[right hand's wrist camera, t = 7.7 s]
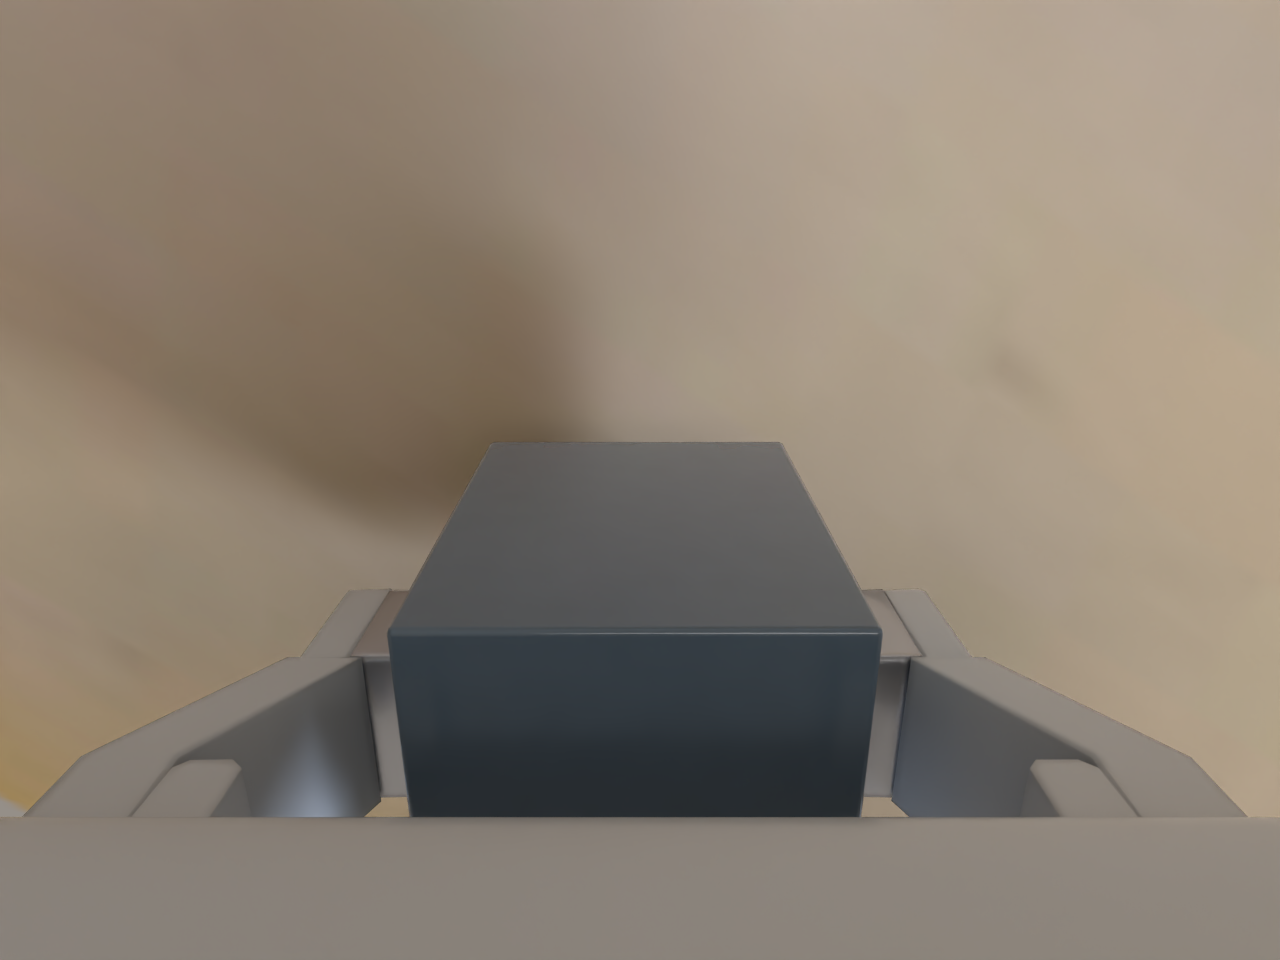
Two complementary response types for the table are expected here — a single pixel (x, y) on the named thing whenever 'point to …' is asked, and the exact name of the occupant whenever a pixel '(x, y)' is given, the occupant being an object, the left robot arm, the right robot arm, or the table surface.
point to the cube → (635, 641)
